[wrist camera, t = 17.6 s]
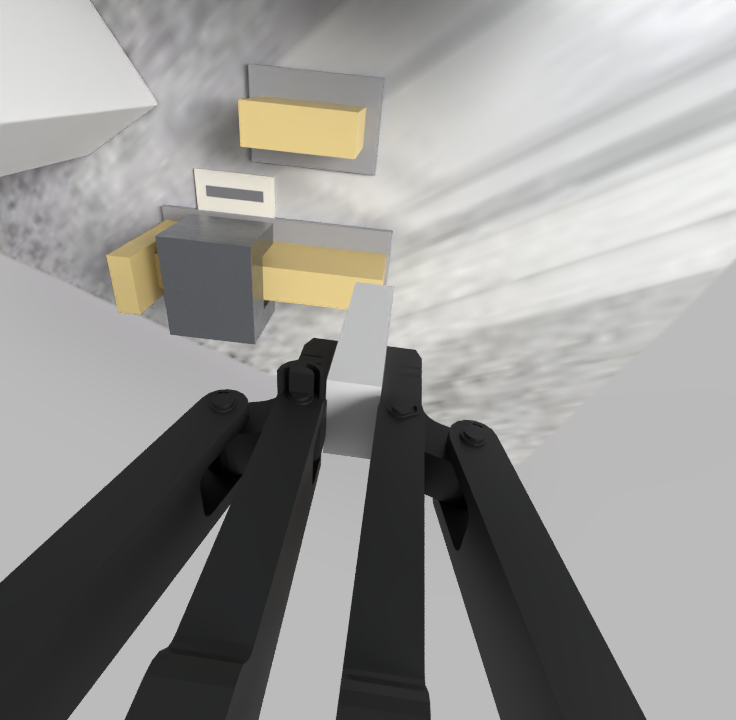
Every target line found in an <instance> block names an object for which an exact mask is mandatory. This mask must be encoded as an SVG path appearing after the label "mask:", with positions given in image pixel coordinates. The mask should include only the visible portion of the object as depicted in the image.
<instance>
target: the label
mask: <svg viewBox="0 0 736 720" xmlns="http://www.w3.org/2000/svg"><path fill="white" fill-rule="evenodd" d="M194 174H195V184H196V194H197V204H198V210H207V211H216V212H225V213H234V214H242V215H251V216H260V217H269V218H275V197H274V177H270V176H261V175H252V174H243V173H234V172H225V171H216V170H207V169H198V168H194Z"/></svg>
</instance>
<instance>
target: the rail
mask: <svg viewBox="0 0 736 720" xmlns="http://www.w3.org/2000/svg"><path fill="white" fill-rule="evenodd" d="M162 213H163V220H164V222H162V223H160V224H158V225H157V226H155V227H153V228H152V229H150V230H148V231H147V232H145V233H143V234H141V235H140V236H138V237H136V238H135V239H133V240H131V241H130V242H128V243H126V244H124V245H123V246H121V247H119V248H118V249H116V250H114V251H112V252H111V253H109V254H107V255H106V257H107V262H108V266H109V271H110V276H111V280H112V285H113V290H114V295H115V299H116V304H117V309H118V312H120V313H128V314H137V315H141V314H142V313H143V312H144V311H145V310H146V309H147V308H148V307H150V306H151V305H152V304H153V303H154V302H155V301H156V300H158V299H159V298H160V297H161V296H162V295H163V294H164V289H163V283H162V276H161V270H160V263H159V257H158V250H157V244H156V237H155V236H156V235H158V234H159V233H161V232H162V231H164V230H166V229H167V228H169V227H170V226H172V225H174V224H175V223H177V222H179V221H180V220H182V219H183V218H185V217H187V216H188V215H190V214H198V215H207V216H216V217H225V218H234V219H242V220H251V221H260V222H269V223H273V244H272V246H271V247H270V248H269V249H268V250H267V252H266V253H265V254H264V255H263V256H262V264H263V296H264V300H271V301H279V302H288V303H296V304H305V305H313V306H322V307H330V308H339V309H347V310H348V307H349V303H350V300H351V297H352V293H353V290H354V286H355V283H356V282H361V283H370V284H378V285H386V282H387V274H388V265H389V257H390V249H391V240H392V232H393V231H390V230H381V229H372V228H363V227H354V226H346V225H337V224H328V223H319V222H310V221H302V220H293V219H284V218H269V217H260V216H251V215H242V214H234V213H225V212H216V211H207V210H198V209H196V208H187V207H178V206H170V205H163V206H162Z"/></svg>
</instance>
